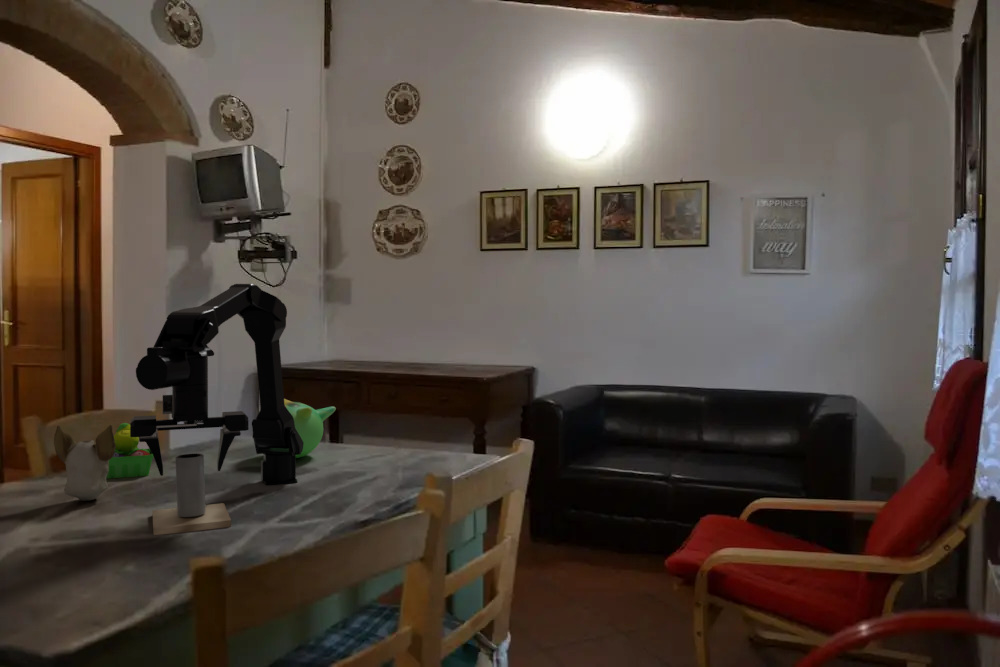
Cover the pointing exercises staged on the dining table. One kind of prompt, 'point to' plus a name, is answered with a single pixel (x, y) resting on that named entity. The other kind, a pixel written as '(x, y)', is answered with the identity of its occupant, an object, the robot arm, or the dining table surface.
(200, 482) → the grey hollow cylinder
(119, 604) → the dining table surface
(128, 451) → the fruit basket
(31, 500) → the dining table surface
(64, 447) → the white eared plush toy
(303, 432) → the toy bird
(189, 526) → the oak block
